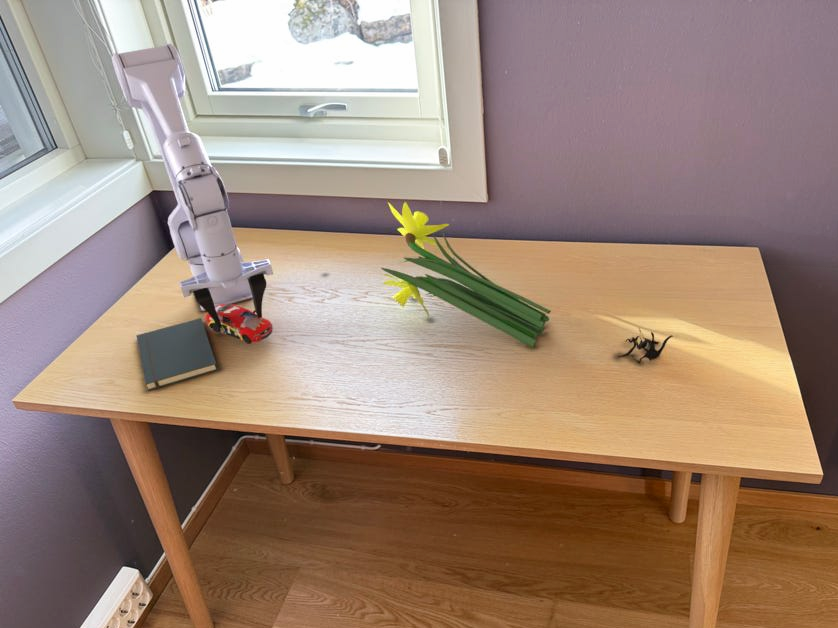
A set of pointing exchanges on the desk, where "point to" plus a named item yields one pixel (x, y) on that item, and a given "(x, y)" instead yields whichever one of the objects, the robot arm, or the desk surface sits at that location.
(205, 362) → the notebook
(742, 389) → the desk surface
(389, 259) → the desk surface
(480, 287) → the daffodil flowers
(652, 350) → the creature
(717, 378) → the desk surface
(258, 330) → the race car
